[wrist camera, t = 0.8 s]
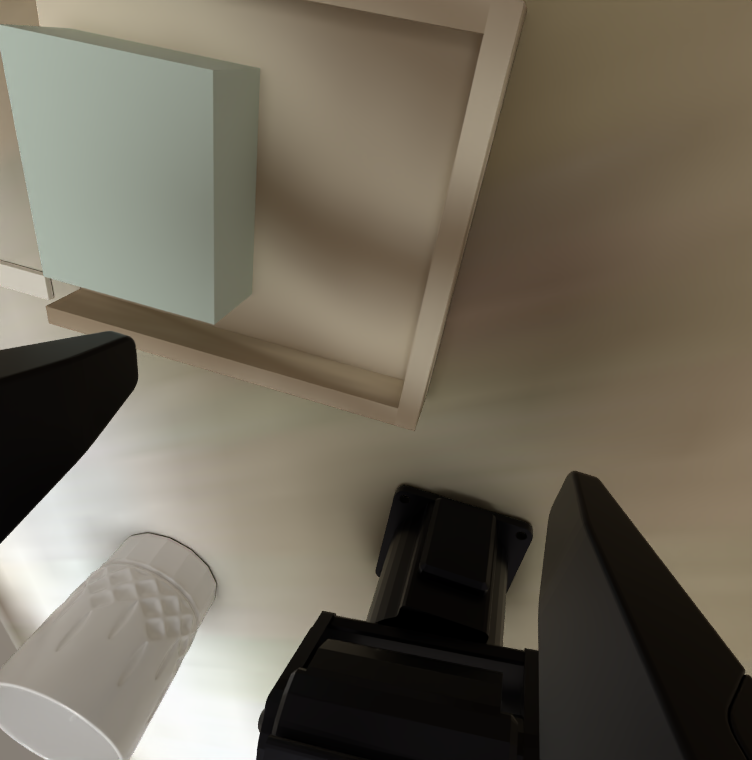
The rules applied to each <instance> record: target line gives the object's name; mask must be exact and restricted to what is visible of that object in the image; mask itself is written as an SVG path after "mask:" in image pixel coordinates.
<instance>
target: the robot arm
mask: <svg viewBox="0 0 752 760" xmlns="http://www.w3.org/2000/svg"><path fill="white" fill-rule="evenodd" d="M137 381H138V366H137V353H136V344H135V341H134V340H133V338H131V337H130V336H127V335H124V334H121V333H118V332H114V331H105V332H99V333H93V334H88V335H82V336H77V337H71V338H65V339H60V340H54V341H49V342H43V343H38V344H32V345H26V346H21V347H15V348H10V349H4V350H0V544H1V542H2V541H3V540H4V539H5V538H6V537H7V536H8V535H9V534H10V533H11V532H12V531H13V530H14V529H15V528H16V527H17V525H18V524H19V523H20V522H21V521H22V520H23V519H24V518H25V517H26V516H27V515H28V514H29V513H30V512H31V511H32V510H33V508H34V507H35V506H36V505H37V504H38V503H39V502H40V501H41V500H42V499H43V498H44V497H45V496H46V495H47V494H48V493H49V491H50V490H51V489H52V488H53V487H54V486H55V485H56V484H57V483H58V482H59V481H60V480H61V479H62V478H63V477H64V476H65V474H66V473H67V472H68V471H69V470H70V469H71V468H72V467H73V466H74V465H75V464H76V463H77V462H78V461H79V459H80V458H81V457H82V456H83V455H84V454H85V453H86V451H87V450H88V449H89V448H90V446H91V445H92V444H93V443H94V442H95V440H96V439H97V438H98V436H99V435H100V434H101V432H102V431H103V430H104V428H105V427H106V426H107V424H108V423H109V422H110V421H111V419H112V418H113V417H114V415H115V414H116V413H117V411H118V410H119V409H120V407H121V406H122V405H123V403H124V402H125V401H126V399H127V398H128V397H129V395H130V394H131V393H132V392H133V390H134V388H135V387H136V384H137ZM402 495H406V496H408V497H409V498H406V497H404V496H402ZM518 532H524V533H523V534H522V533H518ZM532 538H533V529H532V526H531V525H529V524H528V523H526V522H523V521H520V520H517V519H514V518H510V517H507V516H504V515H501V514H497V513H494V512H491V511H488V510H484V509H481V508H478V507H475V506H472V505H468V504H465V503H462V502H459V501H455V500H452V499H449V498H446V497H442V496H439V495H436V494H433V493H430V492H426V491H423V490H420V489H417V488H413V487H410V486H405V485H403V486H400V487H398V488H397V490H396V492H395V495H394V499H393V503H392V507H391V511H390V515H389V519H388V523H387V527H386V531H385V535H384V539H383V543H382V547H381V551H380V555H379V559H378V563H377V567H376V574H377V576H378V577H380V578H379V581H378V585H377V588H376V591H375V594H374V597H373V601H372V604H371V607H370V610H369V613H368V617H367V620H366V621H362V620H356V619H351V618H346V617H340V616H336V613H331V612H326V611H322V613H321V614H320V616H319V617H318V619H317V621H316V622H315V624H314V625H313V627H311V628H310V630H309V632H308V633H307V635H306V636H305V638H304V640H303V641H302V643H301V644H300V646H299V648H298V649H297V651H296V652H295V654H294V656H293V657H292V659H291V660H290V662H289V664H288V665H287V667H286V668H285V670H284V672H283V673H282V675H281V676H280V678H279V679H278V681H277V683H276V684H275V686H274V687H273V689H272V691H271V692H270V694H269V696H268V698H267V701H266V705H265V709H264V710H263V711H262V713H261V715H260V717H259V721H258V729H259V732H260V735H259V741H258V747H257V757H256V760H752V677H751V676H749V675H744V674H745V669H744V667H743V666H742V665H741V663H740V662H739V661H738V660H737V658H736V657H735V656H734V654H733V653H732V652H731V650H730V649H729V648H728V647H727V645H726V644H725V643H724V641H723V640H722V639H721V637H720V636H719V635H718V633H717V632H716V631H715V630H714V628H713V627H712V626H711V624H710V623H709V622H708V620H707V619H706V618H705V617H704V615H703V614H702V613H701V611H700V610H699V609H698V607H697V606H696V605H695V603H694V602H693V601H692V600H691V598H690V597H689V596H688V594H687V593H686V592H685V590H684V589H683V588H682V587H681V585H680V584H679V583H678V581H677V580H676V579H675V577H674V576H673V575H672V573H671V572H670V571H669V570H668V568H667V567H666V566H665V564H664V563H663V562H662V560H661V559H660V558H659V557H658V555H657V554H656V553H655V551H654V550H653V549H652V547H651V546H650V545H649V544H648V542H647V541H646V540H645V538H644V537H643V536H642V534H641V533H640V532H639V530H638V529H637V528H636V527H635V525H634V524H633V523H632V521H631V520H630V519H629V517H628V516H627V515H626V514H625V512H624V511H623V510H622V508H621V507H620V506H619V504H618V503H617V502H616V500H615V499H614V498H613V497H612V495H611V494H610V493H609V491H608V490H607V489H606V487H605V486H604V485H603V484H602V482H601V481H600V480H599V479H598V478H597V477H594V476H591V475H588V474H584V473H581V472H578V471H572V472H570V473H569V474H568V475H567V477H566V479H565V481H564V483H563V485H562V487H561V489H560V491H559V493H558V495H557V497H556V499H555V501H554V503H553V506H552V508H551V511H550V514H549V519H548V527H547V535H546V544H545V552H544V561H543V569H542V578H541V586H540V596H539V610H538V648H539V651H537V650H532V649H526V648H525V650H524V651H523V650H518V649H513V648H507V647H503V633H504V619H505V604H506V593H507V591H508V589H509V587H510V585H511V583H512V581H513V578H514V576H515V574H516V572H517V570H518V568H519V566H520V564H521V562H522V560H523V558H524V555H525V553H526V551H527V549H528V547H529V545H530V543H531V541H532Z"/></svg>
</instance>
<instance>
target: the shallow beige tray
mask: <svg viewBox="0 0 752 760" xmlns="http://www.w3.org/2000/svg"><path fill="white" fill-rule="evenodd" d="M36 5H37V12H38V18H39V25H40V26H41V27H58V28H71V29H76V30H81V31H85V32H90V33H95V34H100V35H104V36H109V37H114V38H119V39H123V40H128V41H133V42H138V43H142V44H147V45H152V46H157V47H161V48H166V49H171V50H176V51H180V52H185V53H190V54H195V55H199V56H204V57H209V58H214V59H218V60H223V61H228V62H233V63H237V64H242V65H247V66H252V67H256V68H260V88H259V116H258V143H257V171H256V198H255V225H254V253H253V280H252V294H251V295H250V296H249V297H248V298H247V299H245V300H244V301H243V302H242V303H240V304H239V305H238V306H237V307H236V308H234V309H233V310H232V311H231V312H229V313H228V314H227V315H226V316H225V317H223V318H222V319H221V320H220V321H218V322H217V323H216V324H215V325H213V324H210V323H206V322H203V321H199V320H196V319H192V318H189V317H185V316H182V315H178V314H175V313H171V312H167V311H164V310H160V309H157V308H153V307H150V306H146V305H143V304H139V303H136V302H132V301H128V300H125V299H121V298H118V297H114V296H111V295H107V294H104V293H100V292H97V291H93V290H89V289H86V288H82V287H80V289H79V290H77V291H75V292H73V293H71V294H69V295H67V296H65V297H63V298H61V299H59V300H57V301H55V302H53V303H51V304H49V305H47V306H46V310H47V315H48V321H49V323H50V324H53V325H57V326H60V327H64V328H67V329H70V330H74V331H77V332H80V333H84V334H87V335H88V334H93V333H99V332H105V331H114V332H118V333H121V334H124V335H127V336H130V337H131V338H133V340H134V341H135V344H136V349H138V350H141V351H145V352H148V353H152V354H155V355H158V356H162V357H165V358H169V359H172V360H175V361H179V362H182V363H186V364H189V365H192V366H196V367H199V368H202V369H206V370H209V371H213V372H216V373H219V374H223V375H226V376H230V377H233V378H236V379H240V380H243V381H247V382H250V383H253V384H257V385H260V386H263V387H267V388H270V389H274V390H277V391H280V392H284V393H287V394H291V395H294V396H297V397H301V398H304V399H308V400H311V401H314V402H318V403H321V404H324V405H328V406H331V407H335V408H338V409H341V410H345V411H348V412H352V413H355V414H358V415H362V416H365V417H369V418H372V419H375V420H379V421H382V422H385V423H389V424H392V425H396V426H399V427H402V428H406V429H409V430H413V431H415V428H416V425H417V422H418V419H419V416H420V413H421V411H422V408H423V405H424V402H425V399H426V396H427V392H428V388H429V384H430V380H431V376H432V373H433V369H434V365H435V361H436V357H437V353H438V350H439V346H440V342H441V338H442V334H443V330H444V326H445V323H446V319H447V315H448V311H449V307H450V303H451V300H452V296H453V292H454V288H455V284H456V280H457V277H458V273H459V269H460V265H461V261H462V257H463V253H464V250H465V246H466V242H467V238H468V234H469V230H470V227H471V223H472V219H473V215H474V211H475V207H476V203H477V200H478V196H479V192H480V188H481V184H482V180H483V177H484V173H485V169H486V165H487V161H488V157H489V153H490V150H491V146H492V142H493V138H494V134H495V130H496V127H497V123H498V119H499V115H500V111H501V107H502V104H503V100H504V96H505V92H506V88H507V84H508V80H509V77H510V73H511V69H512V65H513V61H514V57H515V54H516V50H517V46H518V42H519V38H520V34H521V30H522V27H523V23H524V19H525V15H526V11H527V7H526V4H525V1H520V0H36Z"/></svg>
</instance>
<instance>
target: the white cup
mask: <svg viewBox="0 0 752 760" xmlns="http://www.w3.org/2000/svg"><path fill="white" fill-rule="evenodd" d="M215 592H216V582H215V580H214V578H213V576H212V574H211V572H210V570H209V568H208V566H207V565H206V564H205V563H204V562H203V561H202V560H201V559H200V558H199V557H198V556H197V555H196V554H195V553H194V552H193V551H192V550H190V549H188V548H187V547H185V546H183V545H181V544H180V543H178V542H176V541H174V540H172V539H170V538H167V537H163V536H159V535H154V534H150V533H146V534H140V535H134V536H130V537H129V538H128V539H127V540H126V541H125V542H124V543H123V544H122V545H121V546H120V547H119V548H118V550H117V551H116V552H115V553H114V554H113V555H112V556H111V557H110V558H109V559H108V560H107V561H106V562H105V563H104V564H103V565H102V566H101V567H100V568H99V569H98V570H96V571H94V572H93V573H91V575H90V576H89V577H88V578H87V579H86V580H85V581H84V582H83V583H82V584H81V585H80V586H79V587H78V588H77V589H76V590H75V591H74V592H73V593H72V594H71V595H70V596H69V597H68V598H67V600H66V601H65V602H64V603H63V604H62V605H60V606H59V607H58V608H57V609H56V610H55V611H54V612H53V613H52V614H51V615H50V616H49V617H48V618H47V619H46V620H45V622H44V623H43V624H42V625H41V626H40V627H39V628H38V629H37V630H36V631H35V632H34V633H33V634H32V635H31V636H30V637H29V639H28V640H27V641H26V642H25V643H24V644H23V645H22V646H21V647H20V648H19V649H18V650H17V651H16V652H15V653H14V654H13V655H12V656H11V657H10V658H9V660H8V661H7V662H6V663H5V664H4V665H3V666H2V667H1V668H0V728H1V729H2V730H3V731H4V732H5V733H6V734H8V735H9V736H10V737H11V738H13V739H14V740H15V741H16V742H18V743H19V744H21V745H22V746H24V747H25V748H27V749H28V750H30V751H31V752H33V753H34V754H36V755H38V756H40V757H41V758H43V759H45V760H130V758H131V757H132V755H133V753H134V751H135V749H136V747H137V745H138V744H139V742H140V740H141V738H142V736H143V734H144V732H145V731H146V729H147V727H148V725H149V723H150V721H151V720H152V718H153V716H154V714H155V712H156V710H157V709H158V707H159V705H160V703H161V701H162V699H163V698H164V696H165V694H166V692H167V690H168V688H169V687H170V685H171V683H172V681H173V679H174V677H175V675H176V673H177V671H178V669H179V667H180V665H181V663H182V660H183V658H184V657H185V655H186V654H187V652H188V650H189V649H190V646H191V644H192V642H193V640H194V638H195V635H196V632H197V629H198V628H199V626H200V625H201V623H202V621H203V619H204V617H205V616H206V614H207V612H208V610H209V608H210V607H211V605H212V603H213V601H214V599H215Z"/></svg>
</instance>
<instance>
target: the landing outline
mask: <svg viewBox="0 0 752 760" xmlns="http://www.w3.org/2000/svg"><path fill="white" fill-rule="evenodd" d="M0 286H1V287H5V288H8V289H12V290H15V291H19V292H22V293H26V294H29V295H32V296H36V297H39V298H43V299H46V300H51V299H53V298H54V296H53V291H52V285H51V280H50V278H47V277H44V275H43V272H40V271H37V270H33V269H30V268H26V267H23V266H19V265H15V264H12V263H8V262H5V261H1V260H0Z"/></svg>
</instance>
